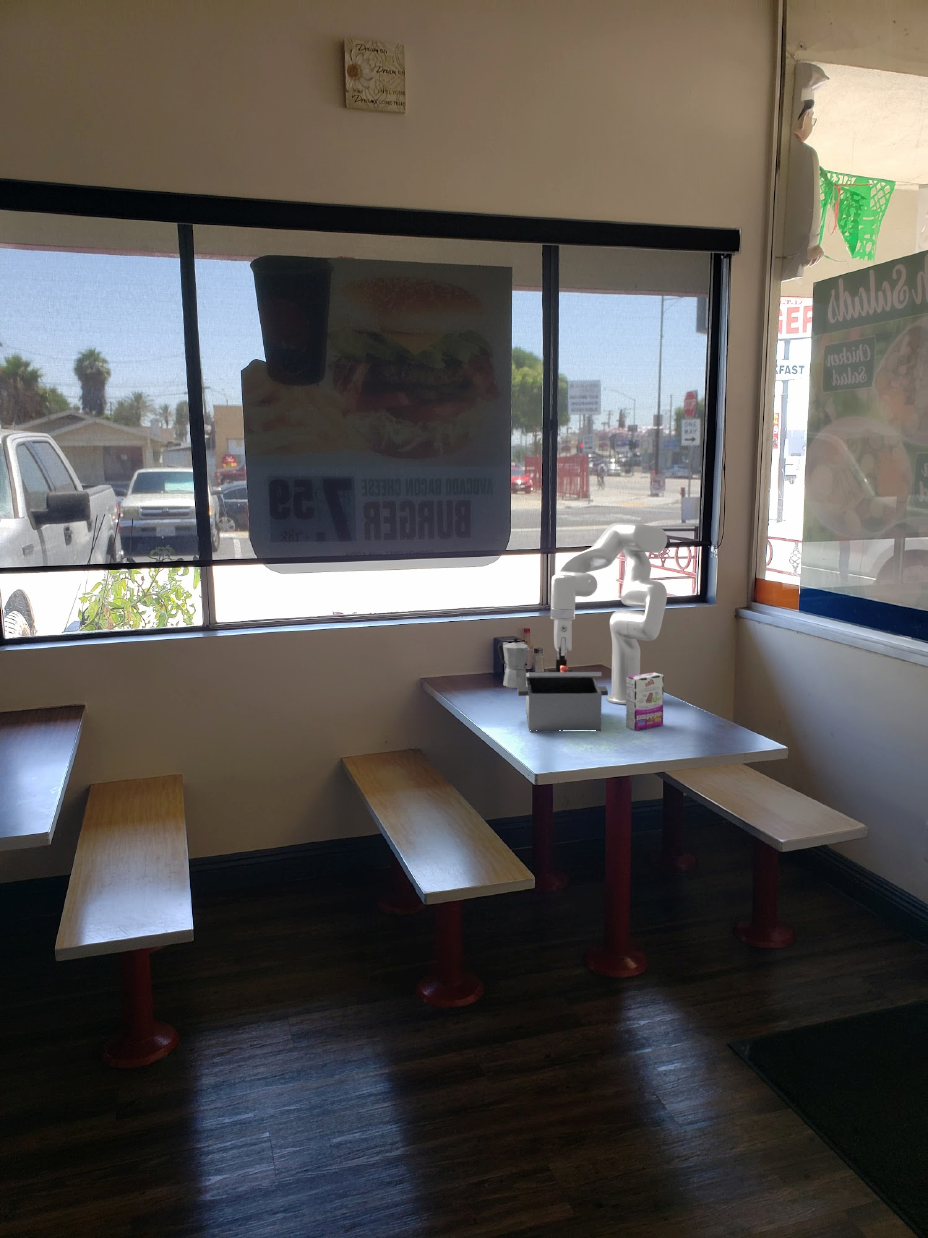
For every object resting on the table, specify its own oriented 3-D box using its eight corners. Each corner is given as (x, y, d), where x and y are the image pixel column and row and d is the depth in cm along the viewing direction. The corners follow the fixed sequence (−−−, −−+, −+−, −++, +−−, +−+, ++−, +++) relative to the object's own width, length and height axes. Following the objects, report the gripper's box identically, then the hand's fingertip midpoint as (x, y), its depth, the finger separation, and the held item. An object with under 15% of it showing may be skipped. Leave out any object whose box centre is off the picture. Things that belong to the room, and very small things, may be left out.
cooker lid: (593, 676, 295) (592, 666, 295) (601, 675, 273) (601, 665, 273) (525, 676, 295) (525, 667, 296) (529, 676, 273) (528, 665, 274)
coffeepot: (537, 686, 333) (537, 638, 330) (520, 690, 326) (520, 641, 323) (506, 679, 344) (506, 633, 341) (489, 683, 337) (489, 636, 334)
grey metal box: (601, 712, 297) (602, 676, 295) (610, 731, 275) (611, 693, 273) (516, 712, 298) (516, 677, 296) (519, 731, 276) (519, 693, 274)
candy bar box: (653, 722, 284) (654, 671, 282) (663, 726, 280) (664, 674, 277) (624, 727, 279) (625, 675, 277) (634, 731, 275) (635, 679, 272)
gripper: (577, 617, 272) (575, 677, 275) (572, 611, 287) (570, 667, 290) (552, 617, 272) (550, 676, 275) (548, 610, 287) (547, 667, 290)
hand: (561, 671), depth 282 cm, fingers closed
